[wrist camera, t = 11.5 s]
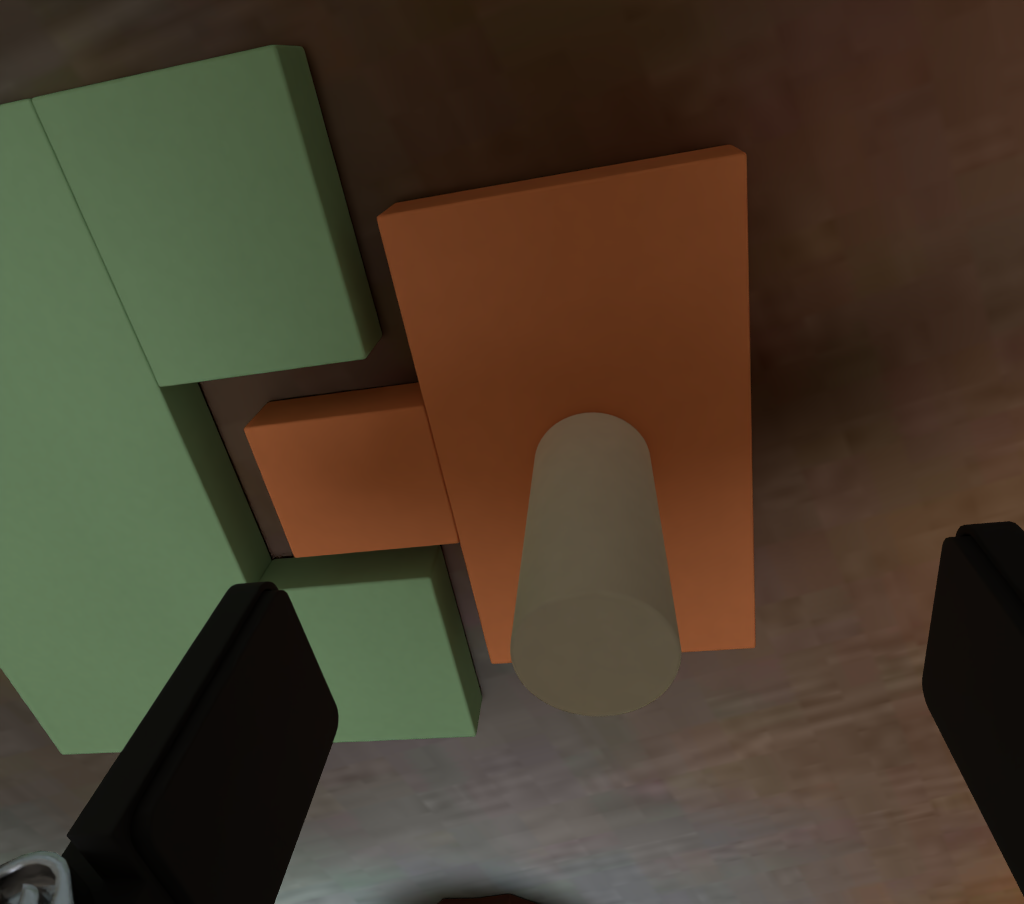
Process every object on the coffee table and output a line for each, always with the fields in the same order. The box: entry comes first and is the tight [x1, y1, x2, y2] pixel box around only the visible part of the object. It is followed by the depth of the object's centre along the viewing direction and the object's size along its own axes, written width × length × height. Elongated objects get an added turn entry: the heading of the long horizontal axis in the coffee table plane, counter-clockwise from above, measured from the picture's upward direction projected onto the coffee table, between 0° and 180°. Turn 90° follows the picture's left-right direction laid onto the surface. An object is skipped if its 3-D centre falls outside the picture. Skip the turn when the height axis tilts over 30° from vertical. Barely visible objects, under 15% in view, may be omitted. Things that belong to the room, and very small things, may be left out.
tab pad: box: [244, 145, 756, 716], centre depth 14 cm, size 12×11×8 cm
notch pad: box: [0, 45, 482, 755], centre depth 18 cm, size 18×14×2 cm
